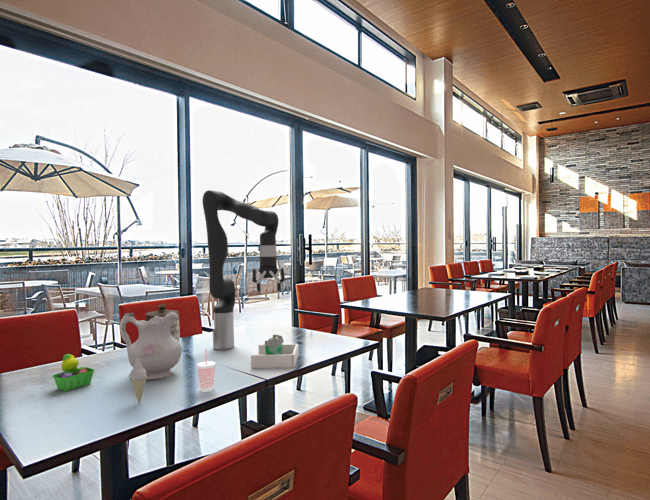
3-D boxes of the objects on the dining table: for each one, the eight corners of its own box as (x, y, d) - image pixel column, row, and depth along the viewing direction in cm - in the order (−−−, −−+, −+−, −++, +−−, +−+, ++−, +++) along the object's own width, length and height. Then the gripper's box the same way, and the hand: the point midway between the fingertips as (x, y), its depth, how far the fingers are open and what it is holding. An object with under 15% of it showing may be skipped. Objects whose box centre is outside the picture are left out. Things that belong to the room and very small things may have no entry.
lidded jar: (164, 356, 190) (163, 307, 189) (139, 353, 196) (137, 306, 195) (186, 347, 204) (185, 302, 203) (162, 345, 209) (161, 301, 209)
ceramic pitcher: (122, 390, 149) (120, 321, 147) (120, 371, 167) (118, 309, 164) (185, 380, 159) (185, 315, 157) (177, 363, 177) (177, 304, 174)
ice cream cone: (133, 400, 136) (132, 354, 136) (150, 399, 137) (148, 354, 137) (128, 406, 131) (126, 359, 131) (144, 406, 132) (143, 358, 132)
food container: (279, 365, 172) (278, 341, 171) (264, 365, 173) (264, 341, 172) (287, 357, 184) (286, 334, 184) (273, 357, 185) (273, 334, 185)
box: (251, 367, 169) (250, 355, 169) (259, 355, 187) (258, 344, 187) (294, 367, 169) (294, 355, 169) (298, 355, 187) (298, 343, 187)
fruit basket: (63, 393, 145) (62, 360, 145) (50, 388, 150) (49, 357, 149) (95, 383, 154) (95, 352, 154) (82, 379, 159) (81, 349, 159)
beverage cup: (209, 385, 150) (208, 346, 150) (219, 388, 146) (218, 348, 146) (194, 390, 145) (193, 349, 145) (204, 393, 141) (203, 352, 141)
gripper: (285, 254, 193) (285, 290, 193) (254, 255, 193) (254, 290, 194) (282, 255, 185) (283, 292, 186) (250, 256, 186) (251, 292, 186)
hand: (268, 291), depth 190 cm, fingers open, 8 cm apart
